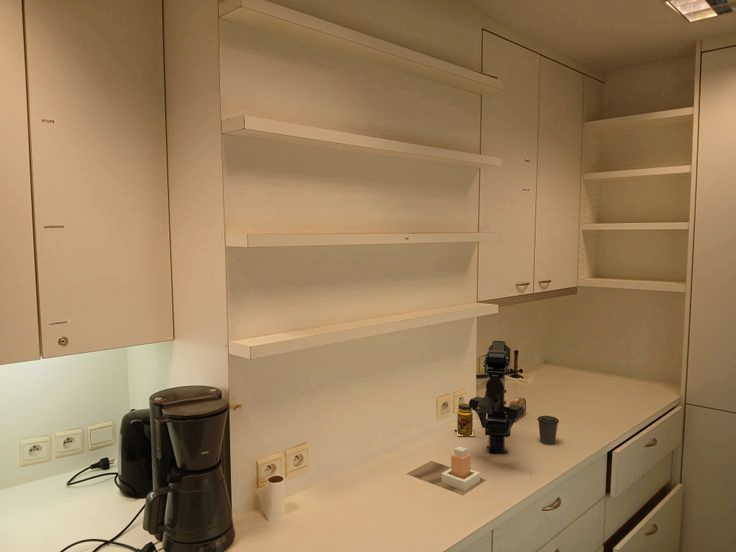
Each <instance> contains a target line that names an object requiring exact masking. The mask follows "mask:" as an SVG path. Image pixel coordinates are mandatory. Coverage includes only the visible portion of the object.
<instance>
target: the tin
mask: <svg viewBox="0 0 736 552" xmlns="http://www.w3.org/2000/svg"><path fill="white" fill-rule="evenodd" d="M512 405H516V406H521V407H523V409H524V415H523V416H521V417H519V418H516V420H515V422H518V421H520V420H521V419H522V418H523V417H525V415H526V412H527V400H526V399H525V398H524V397H516V398H515V399H514V400H512V401H510V403H509V405H508V407H510V406H512Z"/></svg>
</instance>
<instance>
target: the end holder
mask: <svg viewBox="0 0 736 552" xmlns="http://www.w3.org/2000/svg"><path fill="white" fill-rule="evenodd" d="M480 478H481V472H480V471H475V470H473V469H470V476H469V477H467V478H465V479H461V478H458V477H455V476H453V475H451V468H450V469H449V470H447V471H445V472H443V473H442V475H441V483H444V484H447V485H449V486H452V487H455V488H457V489H460V490H463V491H466V490H468V489H469V488H471V487H472V486H474V485H476V484H477V483H479V482H480Z"/></svg>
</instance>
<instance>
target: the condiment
mask: <svg viewBox="0 0 736 552" xmlns="http://www.w3.org/2000/svg"><path fill="white" fill-rule="evenodd" d="M456 415H457V416H456V417H457V420H456V422H457V425H456V427H457V431H458V434H460V435H463V436H470V435H472V431H473V430H474V429H473V424H474V423H473V420H474V419H473V418H474V417H473V415H474V414H473V410H472V408H470V407H469V403H460V404H458V410H457V414H456ZM473 432H474V431H473Z"/></svg>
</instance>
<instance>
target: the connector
mask: <svg viewBox="0 0 736 552" xmlns="http://www.w3.org/2000/svg"><path fill="white" fill-rule="evenodd" d="M450 459H451V460H450V461H451V463H450V467H451V475H453V476H455V477H458V478H461V479H465V478H467V477H469V476H470V470H471V454H470V453H468V448H466V447H463V446H460V445H459V446H457V447H455V448H454V451H453V453H452V454H451V455H450Z"/></svg>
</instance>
